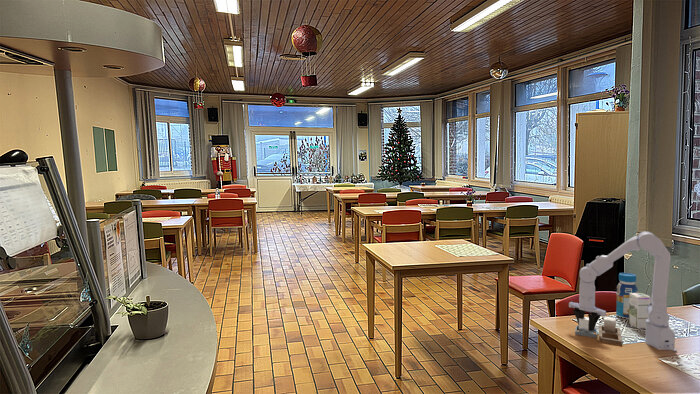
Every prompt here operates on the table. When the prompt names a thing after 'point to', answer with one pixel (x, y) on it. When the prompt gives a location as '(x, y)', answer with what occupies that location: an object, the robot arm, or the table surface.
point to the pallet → (610, 336)
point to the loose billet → (584, 325)
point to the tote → (586, 333)
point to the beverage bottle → (625, 293)
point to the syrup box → (638, 309)
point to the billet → (609, 324)
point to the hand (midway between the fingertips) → (586, 328)
